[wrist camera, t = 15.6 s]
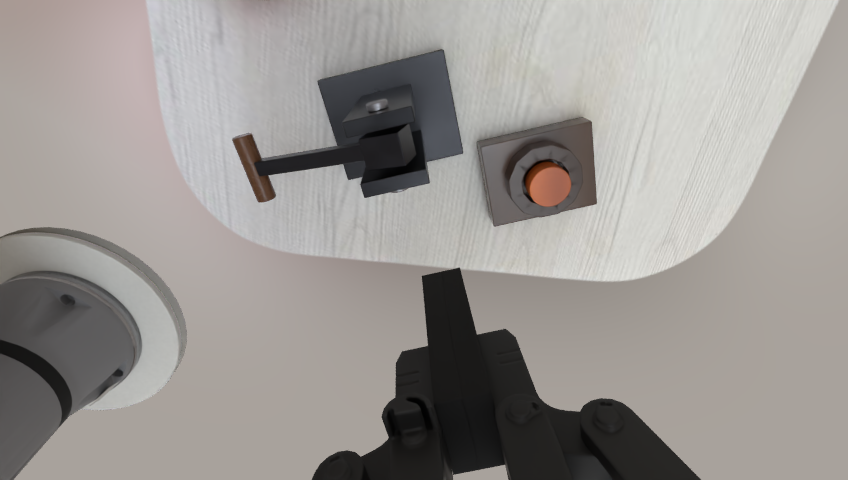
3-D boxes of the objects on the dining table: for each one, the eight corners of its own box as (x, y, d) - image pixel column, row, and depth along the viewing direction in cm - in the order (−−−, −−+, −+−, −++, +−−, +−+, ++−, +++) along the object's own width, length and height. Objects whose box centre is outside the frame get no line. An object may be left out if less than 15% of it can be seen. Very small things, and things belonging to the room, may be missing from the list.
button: (527, 204, 40) (532, 210, 39) (522, 166, 39) (527, 172, 37) (566, 195, 40) (573, 201, 39) (563, 157, 39) (569, 162, 37)
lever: (268, 194, 36) (250, 206, 34) (244, 132, 33) (223, 141, 31) (421, 173, 31) (411, 186, 29) (404, 101, 29) (392, 109, 27)
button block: (490, 218, 45) (497, 234, 41) (476, 141, 42) (483, 152, 38) (588, 196, 44) (604, 211, 41) (583, 116, 41) (599, 124, 37)
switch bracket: (349, 176, 43) (325, 236, 30) (319, 79, 39) (277, 101, 26) (461, 150, 42) (484, 200, 29) (442, 49, 38) (459, 57, 26)
